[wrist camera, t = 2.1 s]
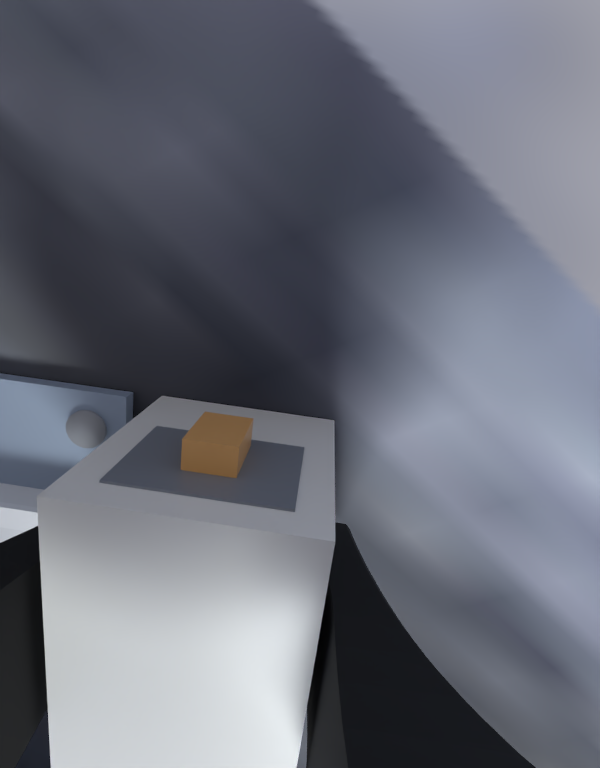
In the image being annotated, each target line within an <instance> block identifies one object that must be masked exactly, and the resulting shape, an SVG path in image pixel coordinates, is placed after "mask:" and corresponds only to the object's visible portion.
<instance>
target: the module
mask: <svg viewBox="0 0 600 768" xmlns="http://www.w3.org/2000/svg"><path fill="white" fill-rule="evenodd" d="M37 512H38V531H39V551H40V570H41V589H42V608H43V628H44V647H45V666H46V685H47V704H48V724H49V743H50V762H51V768H296V767H297V762H298V756H299V750H300V744H301V738H302V733H303V727H304V721H305V715H306V709H307V704H308V698H309V692H310V686H311V680H312V675H313V669H314V663H315V657H316V651H317V645H318V640H319V634H320V628H321V622H322V616H323V611H324V605H325V599H326V593H327V587H328V582H329V576H330V570H331V564H332V558H333V553H334V547H335V430H334V420H329V419H322V418H315V417H308V416H301V415H294V414H287V413H280V412H273V411H266V410H259V409H252V408H245V407H238V406H231V405H224V404H217V403H210V402H203V401H196V400H189V399H182V398H175V397H168V396H161V397H160V398H158V399H157V400H156V401H155V402H153V403H152V404H151V405H150V406H148V407H147V408H146V409H145V410H143V411H142V412H141V413H140V414H138V415H137V416H136V417H135V418H133V419H132V420H131V421H130V422H128V423H127V424H126V425H125V426H123V427H122V428H121V429H120V430H118V431H117V432H116V433H115V434H113V435H112V436H111V437H110V438H108V439H107V440H106V441H105V442H103V443H102V444H101V445H100V446H98V447H97V448H96V449H95V450H93V451H92V452H91V453H90V454H88V455H87V456H86V457H85V458H84V459H82V460H81V461H80V462H79V463H77V464H76V465H75V466H74V467H72V468H71V469H70V470H69V471H67V472H66V473H65V474H64V475H62V476H61V477H60V478H59V479H57V480H56V481H55V482H54V483H52V484H51V485H50V486H49V487H47V488H46V489H45V490H44V491H42V492H41V493H40V494H39V495H37Z"/></svg>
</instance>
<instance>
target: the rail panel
mask: <svg viewBox="0 0 600 768" xmlns="http://www.w3.org/2000/svg"><path fill="white" fill-rule="evenodd" d="M132 419H133V392H128V391H121V390H114V389H107V388H100V387H93V386H86V385H79V384H72V383H65V382H58V381H51V380H44V379H37V378H30V377H23V376H16V375H9V374H2V373H0V543H1V542H3V541H6V540H8V539H10V538H12V537H14V536H17V535H19V534H21V533H23V532H25V531H28V530H30V529H32V528H34V527H36V526H38V512H37V495H39V494H40V493H41V492H42V491H44V490H45V489H46V488H47V487H49V486H50V485H51V484H52V483H54V482H55V481H56V480H57V479H59V478H60V477H61V476H62V475H64V474H65V473H66V472H67V471H69V470H70V469H71V468H72V467H74V466H75V465H76V464H77V463H79V462H80V461H81V460H82V459H84V458H85V457H86V456H87V455H88V454H90V453H91V452H92V451H93V450H95V449H96V448H97V447H98V446H100V445H101V444H102V443H103V442H105V441H106V440H107V439H108V438H110V437H111V436H112V435H113V434H115V433H116V432H117V431H118V430H120V429H121V428H122V427H123V426H125V425H126V424H127V423H128V422H130V421H131V420H132Z"/></svg>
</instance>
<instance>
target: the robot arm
mask: <svg viewBox="0 0 600 768" xmlns="http://www.w3.org/2000/svg"><path fill="white" fill-rule="evenodd" d="M47 709H48V704H47V685H46V666H45V647H44V628H43V608H42V589H41V570H40V551H39V531H38V526H36V527H34V528H32V529H30V530H28V531H25V532H23V533H21V534H19V535H17V536H14V537H12V538H10V539H8V540H6V541H3V542H1V543H0V768H15V767H16V765H17V763H18V761H19V760H20V758H21V756H22V754H23V752H24V750H25V748H26V747H27V745H28V743H29V741H30V739H31V737H32V735H33V734H34V732H35V730H36V728H37V726H38V724H39V722H40V721H41V719H42V717H43V715H44V714H45V712H46V710H47ZM306 768H535V767H534V766H533V765H532V764H531V763H530V762H528V761H527V760H526V759H525V758H524V757H523V756H521V755H520V754H519V753H518V752H517V751H516V750H515V749H514V748H513V747H512V746H511V745H509V744H508V743H507V742H506V741H505V740H504V739H503V738H502V737H501V736H500V735H499V734H498V733H497V732H496V731H495V730H494V729H493V728H492V727H491V726H490V725H489V724H488V723H487V722H485V721H484V720H483V719H482V718H481V717H480V716H479V715H478V714H477V713H476V711H475V710H474V709H473V708H472V707H471V706H470V705H469V704H468V703H467V702H466V701H465V700H464V699H463V698H462V697H461V696H460V695H459V694H458V692H457V691H456V690H455V689H454V688H453V687H452V686H451V685H450V684H449V683H448V681H447V680H446V679H445V678H444V677H443V676H442V675H441V674H440V673H439V672H438V670H437V669H436V668H435V667H434V666H433V664H432V663H431V662H430V661H429V660H428V658H427V657H426V656H425V655H424V653H423V652H422V651H421V649H420V648H419V647H418V646H417V644H416V643H415V642H414V640H413V639H412V638H411V636H410V635H409V634H408V632H407V631H406V629H405V628H404V626H403V625H402V624H401V622H400V621H399V619H398V618H397V616H396V615H395V613H394V612H393V610H392V608H391V607H390V605H389V604H388V602H387V601H386V599H385V597H384V596H383V594H382V592H381V591H380V589H379V587H378V586H377V584H376V582H375V580H374V578H373V577H372V575H371V573H370V571H369V570H368V568H367V566H366V564H365V562H364V560H363V558H362V556H361V554H360V552H359V550H358V548H357V545H356V543H355V541H354V539H353V536H352V534H351V531H350V529H349V528H348V526H347V525H346V524H341V523H335V547H334V553H333V558H332V564H331V570H330V576H329V582H328V587H327V593H326V599H325V605H324V611H323V616H322V622H321V628H320V634H319V640H318V645H317V651H316V657H315V663H314V669H313V675H312V680H311V686H310V692H309V698H308V704H307V766H306Z"/></svg>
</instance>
